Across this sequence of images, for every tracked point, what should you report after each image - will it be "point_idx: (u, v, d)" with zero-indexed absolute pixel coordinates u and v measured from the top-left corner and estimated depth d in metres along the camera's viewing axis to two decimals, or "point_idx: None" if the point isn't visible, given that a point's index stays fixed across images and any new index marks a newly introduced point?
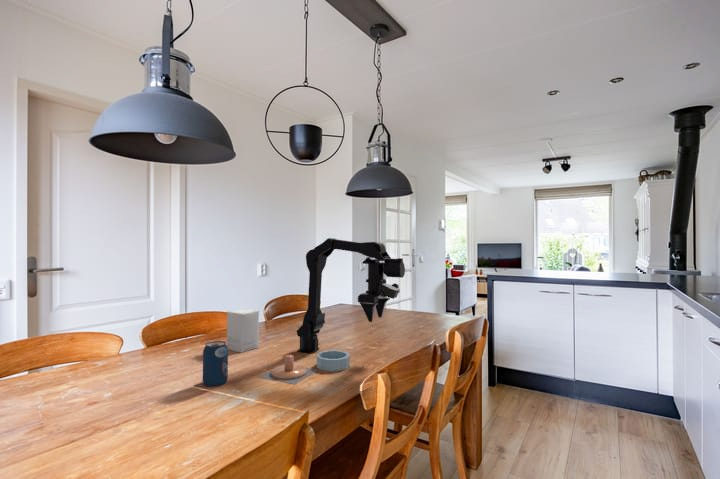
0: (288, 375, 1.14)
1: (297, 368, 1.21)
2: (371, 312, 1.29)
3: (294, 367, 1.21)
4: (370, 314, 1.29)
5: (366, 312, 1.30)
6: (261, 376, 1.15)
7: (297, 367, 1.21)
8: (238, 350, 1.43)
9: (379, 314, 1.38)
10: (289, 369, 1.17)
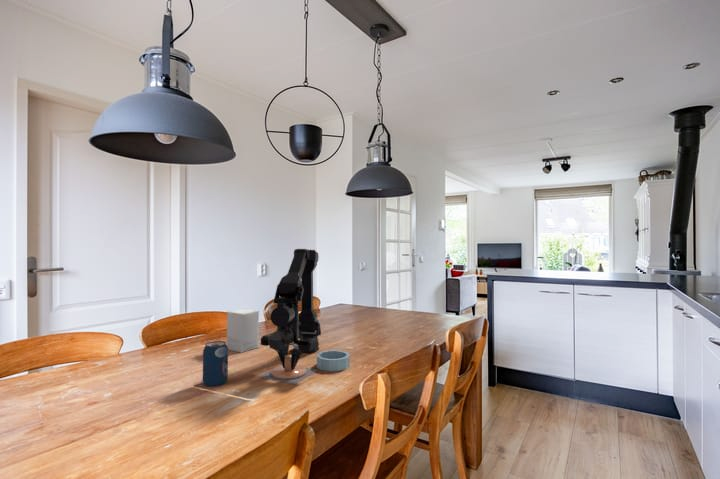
0: (288, 375, 1.14)
1: (297, 367, 1.21)
2: None
3: None
4: None
5: None
6: (261, 376, 1.15)
7: (297, 367, 1.21)
8: (238, 350, 1.43)
9: None
10: (289, 369, 1.17)
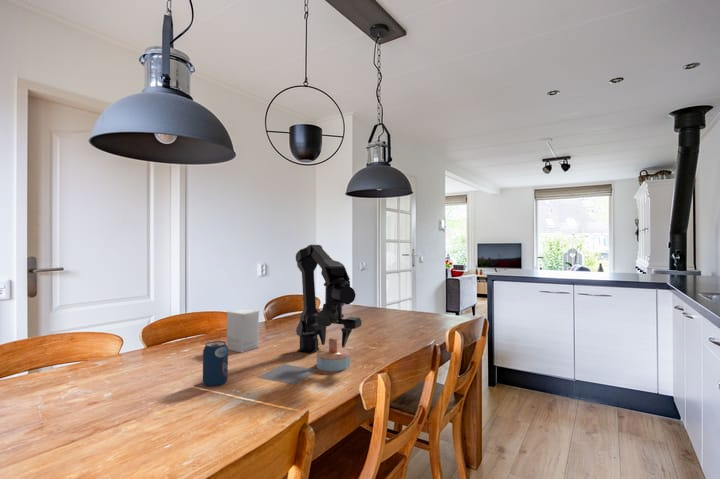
0: (334, 356, 1.22)
1: (340, 350, 1.29)
2: None
3: (337, 349, 1.29)
4: None
5: None
6: (261, 376, 1.15)
7: (340, 349, 1.29)
8: (238, 350, 1.43)
9: None
10: (334, 351, 1.25)
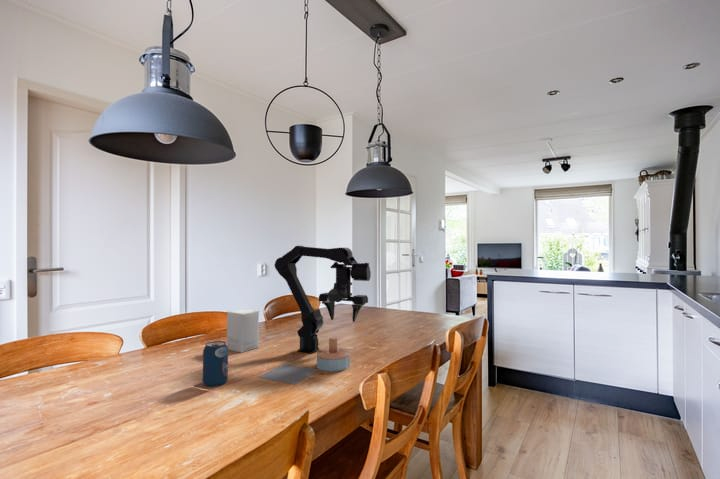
0: (334, 356, 1.22)
1: (340, 350, 1.29)
2: None
3: (337, 349, 1.29)
4: None
5: None
6: (261, 376, 1.15)
7: (340, 349, 1.29)
8: (238, 350, 1.43)
9: None
10: (334, 351, 1.25)
